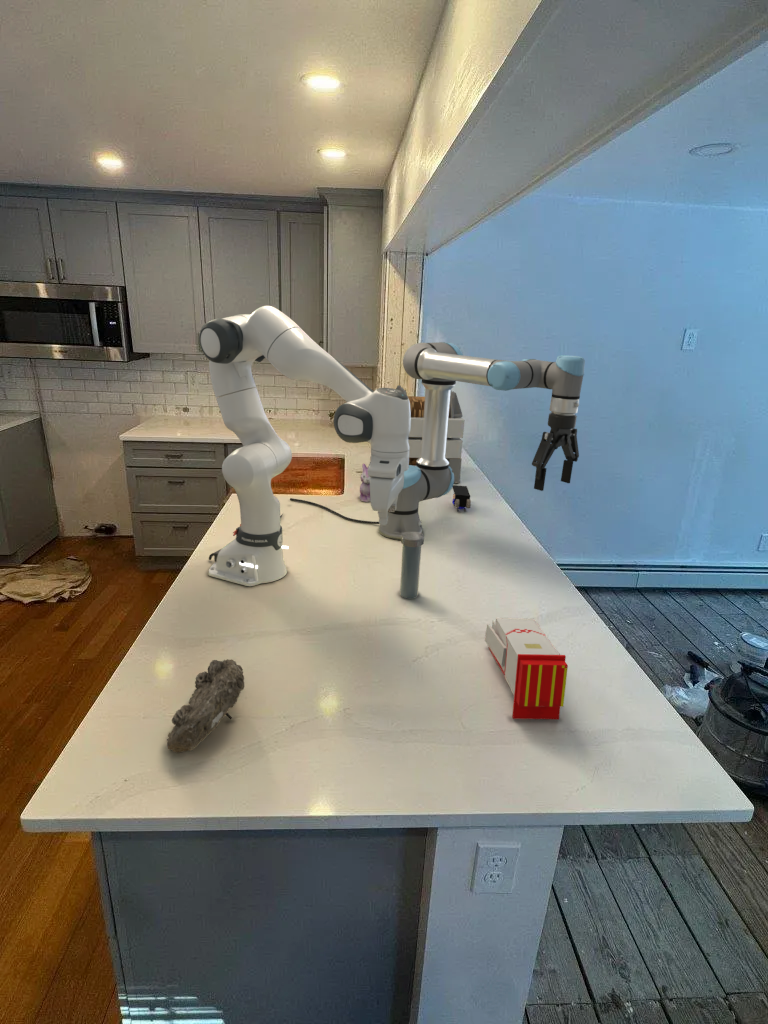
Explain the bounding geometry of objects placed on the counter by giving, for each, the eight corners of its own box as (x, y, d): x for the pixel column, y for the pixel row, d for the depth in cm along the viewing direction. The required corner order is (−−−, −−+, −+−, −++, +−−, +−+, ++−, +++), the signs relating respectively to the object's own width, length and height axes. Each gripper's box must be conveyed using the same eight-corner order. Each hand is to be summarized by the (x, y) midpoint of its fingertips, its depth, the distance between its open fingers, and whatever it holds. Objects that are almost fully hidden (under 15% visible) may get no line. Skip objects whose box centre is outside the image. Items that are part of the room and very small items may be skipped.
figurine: (363, 503, 228) (365, 467, 223) (353, 496, 237) (354, 461, 232) (384, 501, 233) (386, 465, 227) (373, 493, 241) (374, 459, 236)
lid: (412, 549, 149) (413, 541, 148) (395, 542, 153) (396, 534, 152) (428, 543, 153) (428, 536, 152) (411, 536, 157) (412, 529, 156)
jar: (409, 600, 155) (413, 542, 149) (395, 593, 158) (399, 536, 152) (421, 594, 158) (425, 537, 152) (408, 588, 161) (412, 532, 156)
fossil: (192, 660, 117) (244, 628, 112) (224, 691, 120) (276, 661, 115) (142, 746, 98) (202, 712, 93) (182, 779, 101) (242, 748, 96)
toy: (531, 603, 136) (576, 661, 106) (526, 655, 139) (569, 725, 109) (481, 602, 135) (512, 660, 106) (477, 654, 138) (507, 724, 109)
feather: (290, 508, 223) (292, 504, 223) (272, 532, 197) (275, 527, 196) (286, 505, 223) (289, 501, 223) (268, 529, 197) (271, 525, 196)
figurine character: (470, 516, 223) (465, 500, 237) (473, 499, 220) (467, 484, 233) (453, 516, 223) (449, 500, 236) (455, 498, 220) (451, 483, 233)
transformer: (382, 463, 289) (386, 382, 275) (445, 464, 293) (451, 384, 279) (390, 482, 257) (394, 392, 243) (460, 483, 261) (468, 394, 247)
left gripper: (386, 449, 140) (384, 502, 145) (365, 470, 121) (364, 530, 126) (411, 451, 139) (408, 505, 144) (394, 473, 120) (392, 533, 125)
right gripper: (548, 419, 148) (537, 496, 155) (598, 411, 163) (586, 482, 171) (525, 414, 153) (515, 489, 160) (575, 407, 169) (564, 476, 176)
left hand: (387, 517), depth 135 cm, fingers open, 8 cm apart
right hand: (552, 485), depth 166 cm, fingers open, 13 cm apart
